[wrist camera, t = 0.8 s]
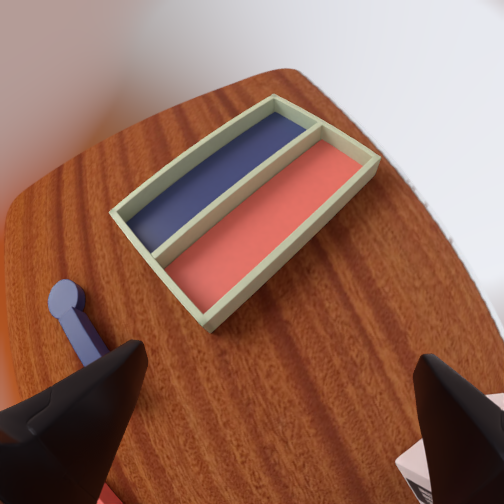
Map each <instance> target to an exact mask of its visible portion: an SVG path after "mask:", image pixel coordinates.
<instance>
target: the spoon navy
mask: <svg viewBox="0 0 504 504" xmlns="http://www.w3.org/2000/svg"><path fill="white" fill-rule="evenodd" d="M84 306H85V294H84V291H83V289H82V288H81V287H80V286H79V285H77V284H76V283H74V282H73V281H71V280H68V279H64V280H61V281H59V282H57V283H56V284H55V285H54V286H53V288H52V289H51V291H50V294H49V298H48V308H49V311H50V313H51V314H52V316H53V317H55V318H57V319H59V322H60V324H61V326H62V328H63V330H64V332H65V334H66V336H67V337H68V339H69V341H70V343H71V345H72V346H73V348H74V350H75V352H76V353H77V355H78V357H79V359H80V360H81V362H82V364H83V365H84V367H85V366H87V365H88V364H90V363H92V362H93V361H95V360H97V359H98V358H100V357H102V356H104V355H105V354H107V353H109V352H110V351H109V350H108V348H107V347H106V345H105V344H104V342H103V341H102V339H101V337H100V336H99V334H98V333H97V331H96V330H95V328H94V326H93V325H92V323H91V321H90V320H89V318H88V316H87V315H86V313H84V312H82V311H83V309H84Z"/></svg>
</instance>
